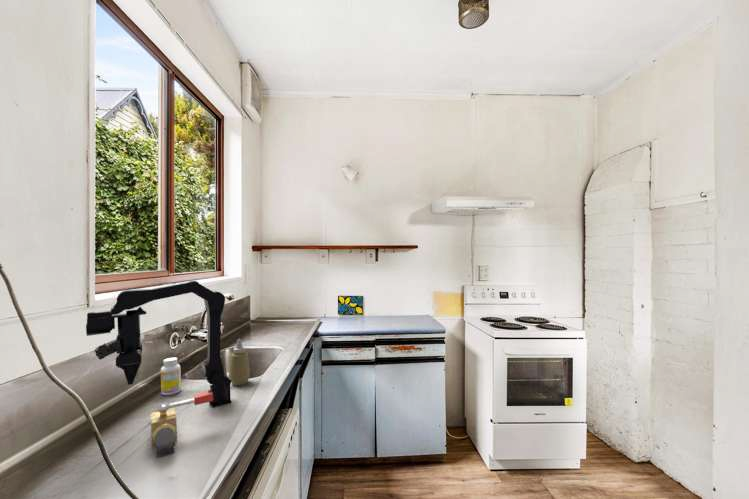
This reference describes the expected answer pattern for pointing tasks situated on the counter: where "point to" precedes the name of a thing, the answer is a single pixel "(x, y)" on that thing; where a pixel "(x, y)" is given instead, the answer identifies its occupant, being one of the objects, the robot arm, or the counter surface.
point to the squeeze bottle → (239, 365)
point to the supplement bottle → (170, 377)
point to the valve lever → (187, 401)
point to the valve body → (164, 431)
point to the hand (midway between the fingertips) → (131, 379)
